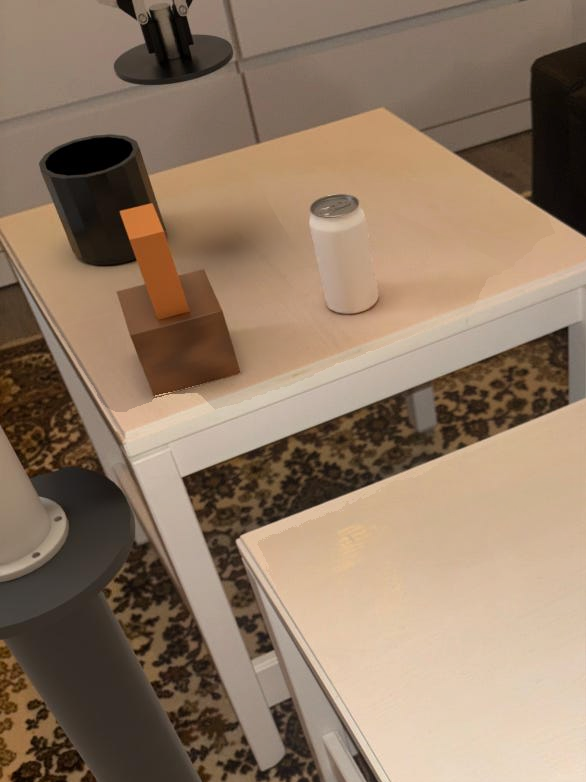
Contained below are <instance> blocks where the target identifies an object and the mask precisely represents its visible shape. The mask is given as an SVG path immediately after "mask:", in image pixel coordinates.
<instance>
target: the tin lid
mask: <svg viewBox="0 0 586 782" xmlns="http://www.w3.org/2000/svg"><path fill="white" fill-rule="evenodd" d="M148 13H149V15H150V17H151V19H152V21H153V22H154V24H155V27H156V30H157V34H158V37H159V41H160V44H161V48H162V51H163V55H164V59H165V61H164V62H163V63H159V62H158V60H157V58H156V56H155V54H154V53H152V54H149V52H148V50H147V47H146V43H145V42H144V43H141V44H138V45H136V46H133V47H131V48H129V49H128V50H126V51H124V52H123V53H122V54H120V55H119V56H118V57H117V58H116V60H115V61H114V62H113V70H114V74H115V75H116V77H117V78H118V79H120V80H121V81H123V82H126V83H129V84H132V85H140V86H164V85H173V84H179V83H184V82H188V81H193V80H197V79H200V78H202V77H205V76H209V75H210V74H212V73H213V74H214V73H215V72H217V71H219V70H221V69H222V68H224V67H225V66H226V65H227V64H229V63H230V62H231V61H232V59H233V58H234V49H233V45H232V43H231V42H230V41H229V40H228V39H225V38H223V37H220V36H217V35H211V34H197V33H195V34H194V33H193V34H192V38H193V42H194V45H189V48H190V52H191V56H190V57H187V56H185V55H184V54H183V51H182V47H181V43H180V40H179V36H178V32H177V29H176V25H175V21H174V18H173V14H172V5H171V4H170V3H169V2H159V3H155V4H151V5H150V6H149V7H148Z"/></svg>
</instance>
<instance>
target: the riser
mask: <svg viewBox="0 0 586 782" xmlns="http://www.w3.org/2000/svg"><path fill="white" fill-rule="evenodd" d="M178 276H179V279H180V282H181V285H182V288H183V291H184V295H185V298H186V301H187V304H188V307H189V310H190V312H186V313H183V314H179V315H175V316H171V317H168V318H164V319H160V320H158V319H157V316H156V313H155V310H154V308H153V305H152V302H151V299H150V296H149V293H148V291H147V288H146V285H145V283H144V284H140V285H136V286H133V287H129V288H125V289H121V290H117V291H116V295H117V298H118V301H119V305H120V307H121V311H122V315H123V317H124V320H125V325H126V327H127V330H128V333H129V336H130V339H131V342H132V345H133V347H134V350H135V352H136V355H137V357H138V360H139V363H140V365H141V368H142V371H143V373H144V376H145V378H146V381H147V383H148V387H149V389H150V392H151V395H152V396H155V395H159V394H163V393H168V392H173V391H177V390H180V391H182V390H181V389H184V390H186V389H185V388H188V387H191V388H193V387H192V386H195V387H197V386H196V385H198V386H201V385H200V384H202V385H205V384H208V383H207V382H209V383H212V382H215V380H216V381H218V379H219V380H222V379H221V378H223V379H226V378H229V377H232V375H233V376H236V375H239V373H240V374H241V373H242V372H241V368H240V365H239V362H238V358H237V355H236V351H235V349H234V344H233V341H232V339H231V334H230V331H229V328H228V325H227V322H226V321H227V320H226V318H225V315H224V312H223V308H222V306H221V304H220V302H219V300H218V297H217V295H216V293H215V290H214V289H213V286H212V283H211V282H210V279H209V277H208V274H207V273H206V271H205V268H201V269H198V270H194V271H191V272H187V273H182V274H178ZM211 381H212V382H211ZM204 383H205V384H204ZM188 389H189V388H188ZM177 392H178V391H177ZM173 393H174V392H173Z"/></svg>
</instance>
